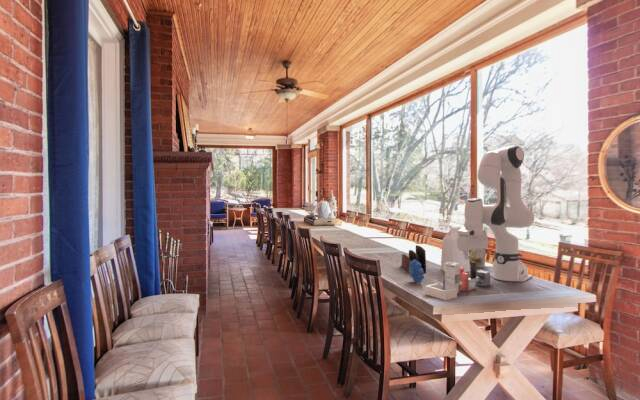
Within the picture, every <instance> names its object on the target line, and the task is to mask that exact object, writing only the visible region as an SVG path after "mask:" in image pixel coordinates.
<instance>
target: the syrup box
mask: <svg viewBox="0 0 640 400" xmlns="http://www.w3.org/2000/svg"><path fill="white" fill-rule="evenodd" d="M459 270H460V264H459V263H455V262H447V263H445V264H444V270H443V274H442V275H443V278H442V281H443V283H442V290H445V291H446V290H450V289H454V288H456V289H457V294H459V293H460V290H459Z"/></svg>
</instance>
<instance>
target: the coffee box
mask: <svg viewBox="0 0 640 400" xmlns="http://www.w3.org/2000/svg"><path fill="white" fill-rule="evenodd" d="M476 254H478V249H477V250H469V256H470V259H469V264H470V262H476V268H484V267H485V266H486V248H485V249H483V252H482V254H481V258H477V257H476Z"/></svg>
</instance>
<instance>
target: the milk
mask: <svg viewBox="0 0 640 400" xmlns="http://www.w3.org/2000/svg"><path fill="white" fill-rule="evenodd" d="M460 229H462V227H461V226H450V227H449V231H447V233H446V235H444V237H443V238H442V245H441V260H440V270H442V271H444V264H445V263H447V262H455V263H459V264H460V268H463V269H464V273H470V264H469V259H468V260H466V259H465V256H464V253H463V251H460V250H458V247H457V241H458V236H459V235H458V230H460ZM468 256H469V252H468ZM459 272H460V271H459Z"/></svg>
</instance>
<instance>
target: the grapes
mask: <svg viewBox="0 0 640 400" xmlns="http://www.w3.org/2000/svg"><path fill="white" fill-rule="evenodd" d="M420 267H421V263H420V262H417V260H415V259H414V260H413V261H411V262H410V267H409V270H410V271H409V272H410V273H409V272H408V273H409V275H410V277H411V278H412V280H413V282H414V283H418V284H421V283H422V282H423V280H424V278H425V276H424V273H423V272H424V270H423V269H422V268H420Z"/></svg>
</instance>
